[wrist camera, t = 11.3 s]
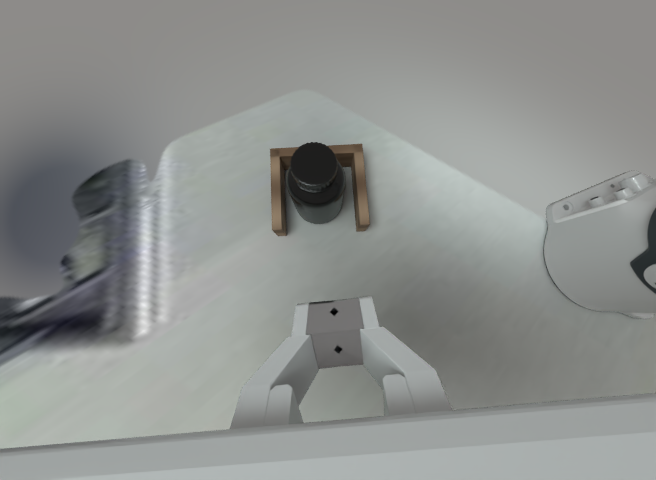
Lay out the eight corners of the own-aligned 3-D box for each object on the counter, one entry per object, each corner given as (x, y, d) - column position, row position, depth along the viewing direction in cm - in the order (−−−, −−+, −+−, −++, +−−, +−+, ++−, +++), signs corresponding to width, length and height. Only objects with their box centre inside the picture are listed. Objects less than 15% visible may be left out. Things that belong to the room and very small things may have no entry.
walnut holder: (364, 231, 36) (369, 224, 32) (278, 236, 36) (272, 229, 32) (358, 158, 38) (362, 143, 34) (276, 163, 38) (270, 148, 34)
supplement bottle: (317, 171, 37) (313, 119, 26) (351, 201, 37) (363, 160, 25) (285, 204, 36) (265, 165, 25) (319, 235, 36) (316, 210, 24)
